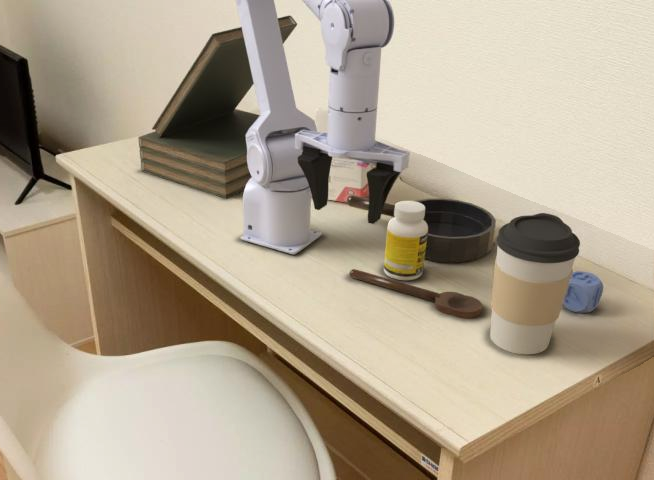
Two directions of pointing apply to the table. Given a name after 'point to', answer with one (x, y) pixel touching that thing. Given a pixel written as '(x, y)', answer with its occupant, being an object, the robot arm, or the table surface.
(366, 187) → the ink cartridge box
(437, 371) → the table surface
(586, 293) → the decorative dice
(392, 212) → the pan handle
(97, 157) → the table surface
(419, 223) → the supplement bottle
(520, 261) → the coffee cup
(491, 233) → the frying pan
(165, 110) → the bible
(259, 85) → the robot arm
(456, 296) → the walnut spoon
